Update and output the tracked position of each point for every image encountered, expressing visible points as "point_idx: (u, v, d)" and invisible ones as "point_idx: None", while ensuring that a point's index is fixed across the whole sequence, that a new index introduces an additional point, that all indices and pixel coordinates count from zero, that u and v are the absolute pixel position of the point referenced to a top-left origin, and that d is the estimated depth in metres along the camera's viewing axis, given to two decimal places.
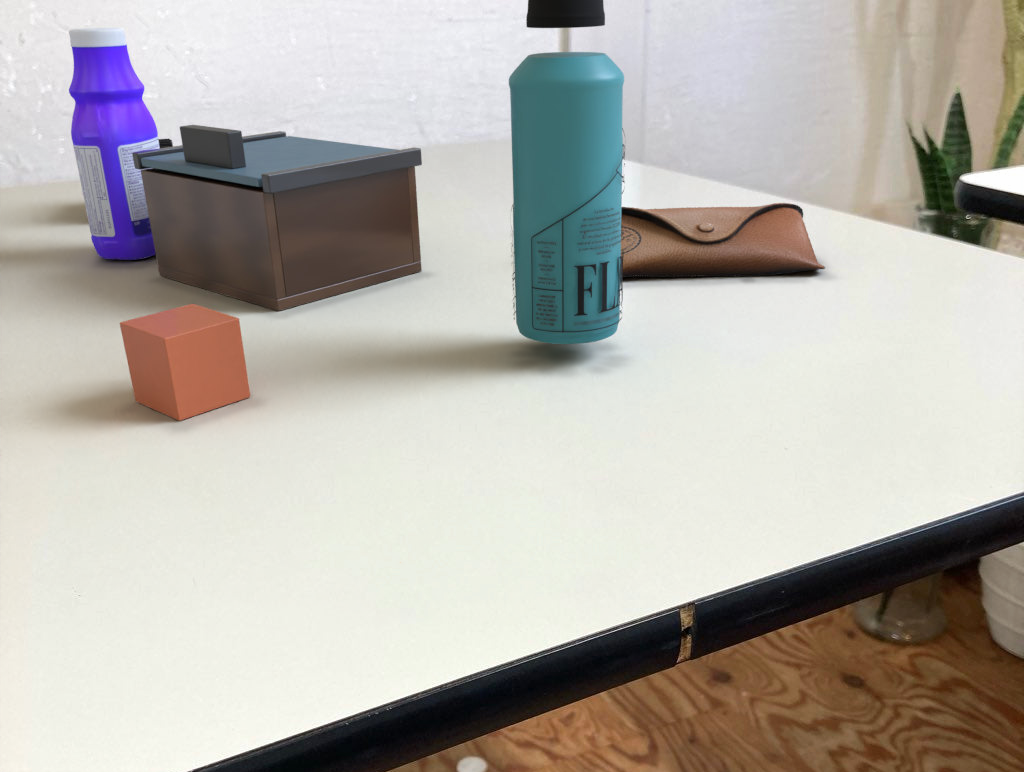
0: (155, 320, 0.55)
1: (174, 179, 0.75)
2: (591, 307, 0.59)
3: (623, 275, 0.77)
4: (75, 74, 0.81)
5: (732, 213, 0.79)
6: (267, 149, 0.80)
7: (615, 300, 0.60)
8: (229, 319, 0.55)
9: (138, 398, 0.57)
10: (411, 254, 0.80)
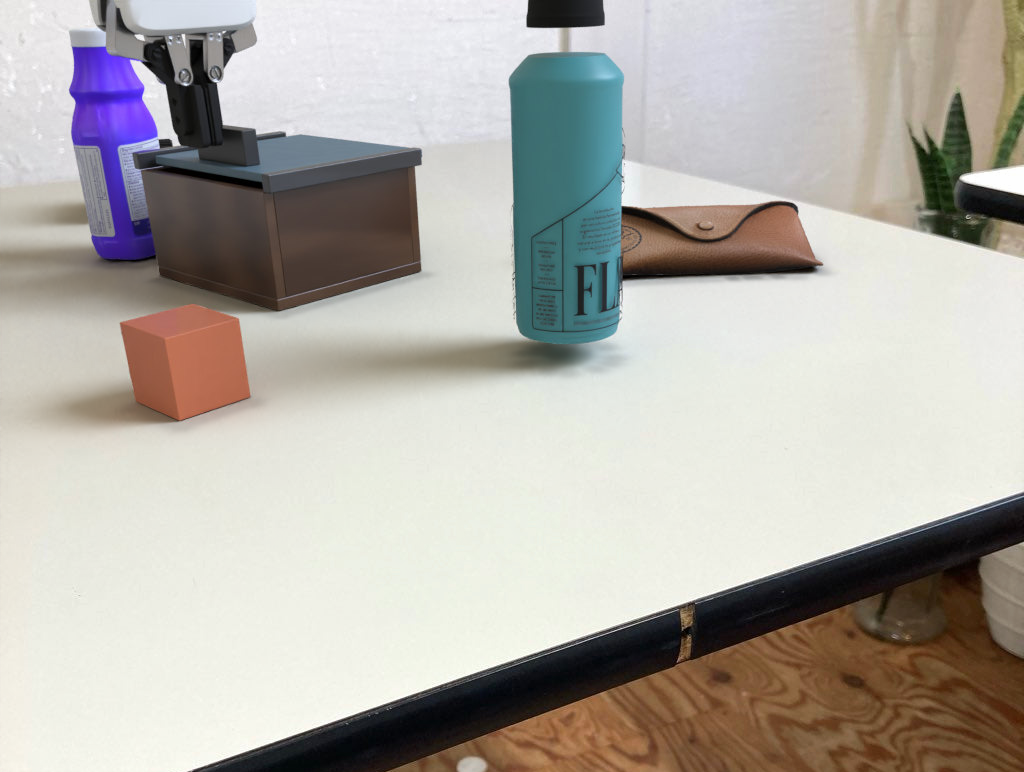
0: (155, 320, 0.55)
1: (174, 179, 0.75)
2: (591, 307, 0.59)
3: (625, 273, 0.77)
4: (75, 74, 0.81)
5: (730, 211, 0.80)
6: (280, 147, 0.80)
7: (615, 300, 0.60)
8: (229, 319, 0.55)
9: (138, 398, 0.57)
10: (411, 254, 0.80)
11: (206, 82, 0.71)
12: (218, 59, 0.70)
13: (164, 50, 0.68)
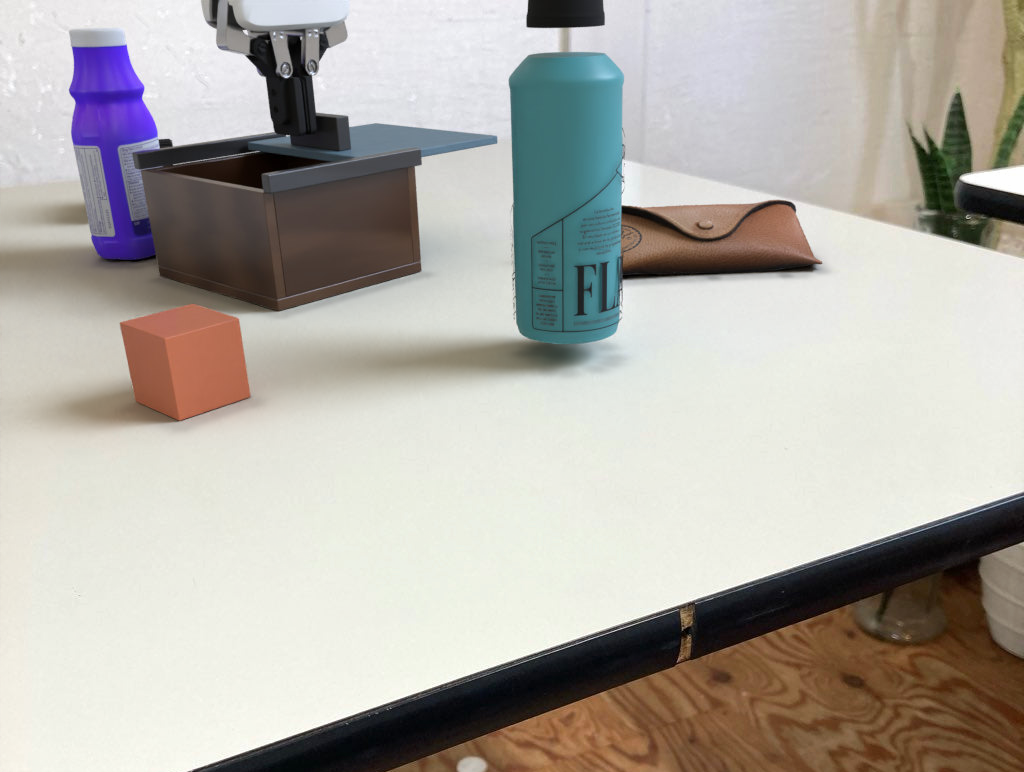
0: (155, 320, 0.55)
1: (174, 179, 0.75)
2: (591, 307, 0.59)
3: (625, 273, 0.77)
4: (75, 74, 0.81)
5: (729, 210, 0.80)
6: (362, 134, 0.86)
7: (615, 300, 0.60)
8: (229, 319, 0.55)
9: (138, 398, 0.57)
10: (411, 254, 0.80)
11: (303, 75, 0.76)
12: (314, 53, 0.76)
13: (268, 45, 0.73)
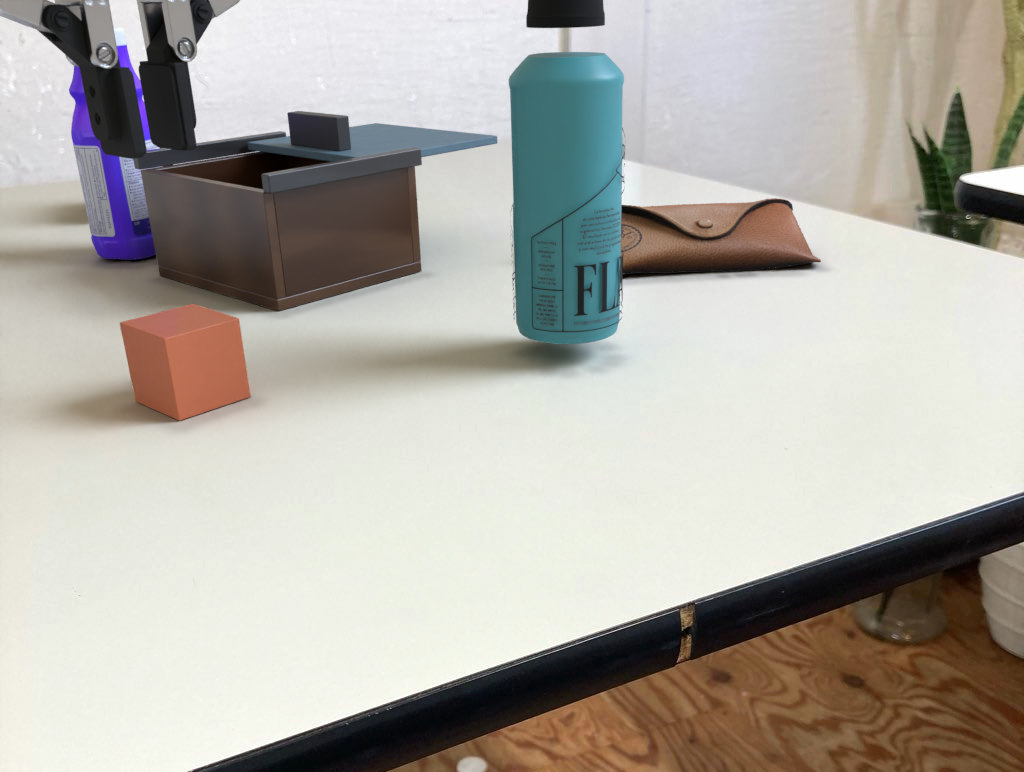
0: (155, 320, 0.55)
1: (174, 179, 0.75)
2: (591, 307, 0.59)
3: (627, 272, 0.77)
4: (75, 74, 0.81)
5: (728, 209, 0.80)
6: (362, 134, 0.86)
7: (615, 300, 0.60)
8: (229, 319, 0.55)
9: (138, 398, 0.57)
10: (411, 254, 0.80)
11: (172, 61, 0.50)
12: (186, 27, 0.50)
13: (74, 15, 0.46)
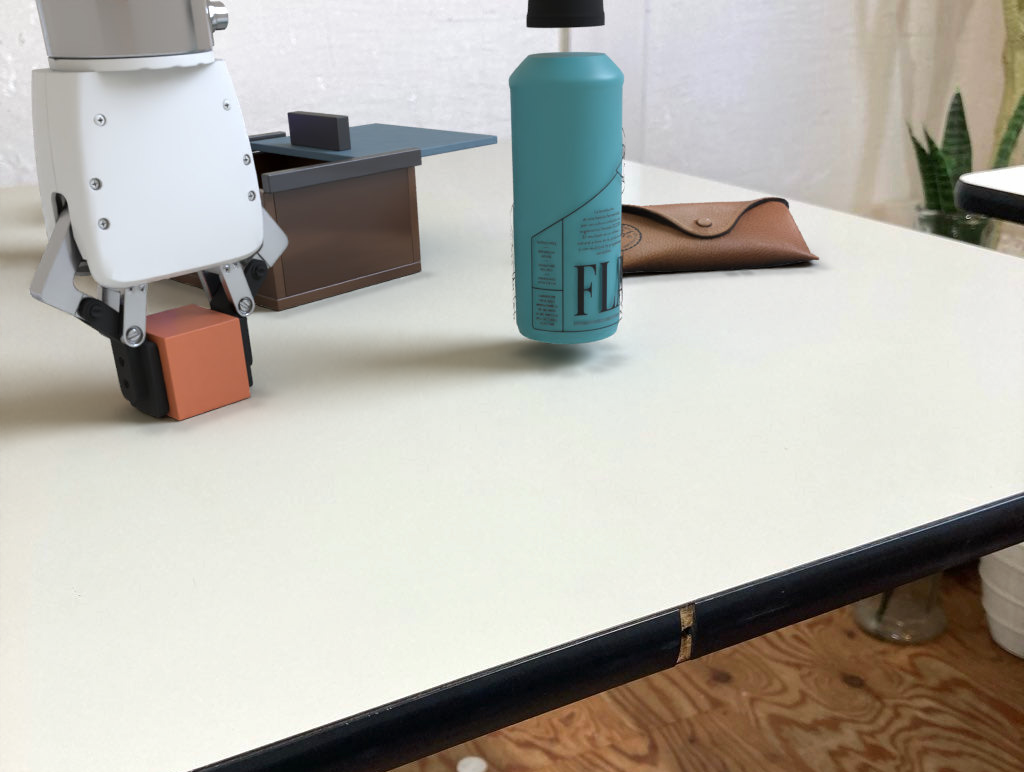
0: (155, 320, 0.55)
1: None
2: (591, 307, 0.59)
3: (628, 271, 0.78)
4: None
5: (726, 208, 0.81)
6: (362, 134, 0.86)
7: (615, 300, 0.60)
8: (229, 319, 0.55)
9: None
10: (411, 254, 0.80)
11: (233, 315, 0.57)
12: (243, 289, 0.56)
13: (106, 305, 0.51)
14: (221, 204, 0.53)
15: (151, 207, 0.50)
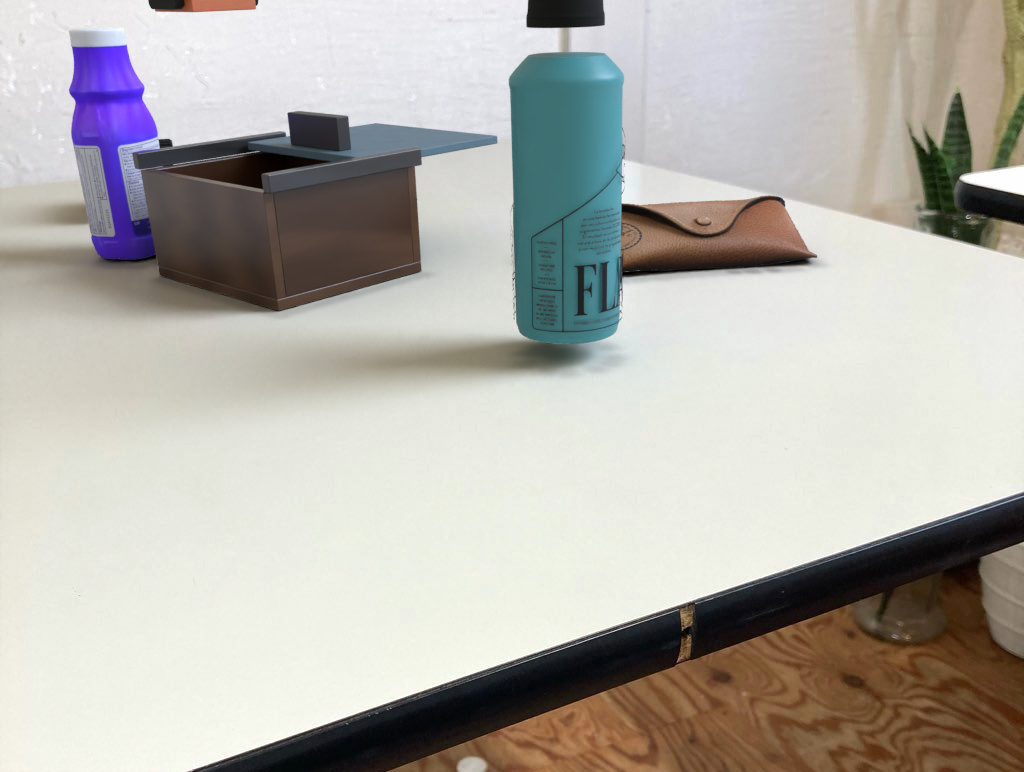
0: None
1: (174, 179, 0.75)
2: (591, 307, 0.59)
3: (629, 270, 0.78)
4: (75, 74, 0.81)
5: (724, 206, 0.81)
6: (362, 134, 0.86)
7: (615, 300, 0.60)
8: None
9: None
10: (411, 254, 0.80)
11: None
12: None
13: None
14: None
15: None
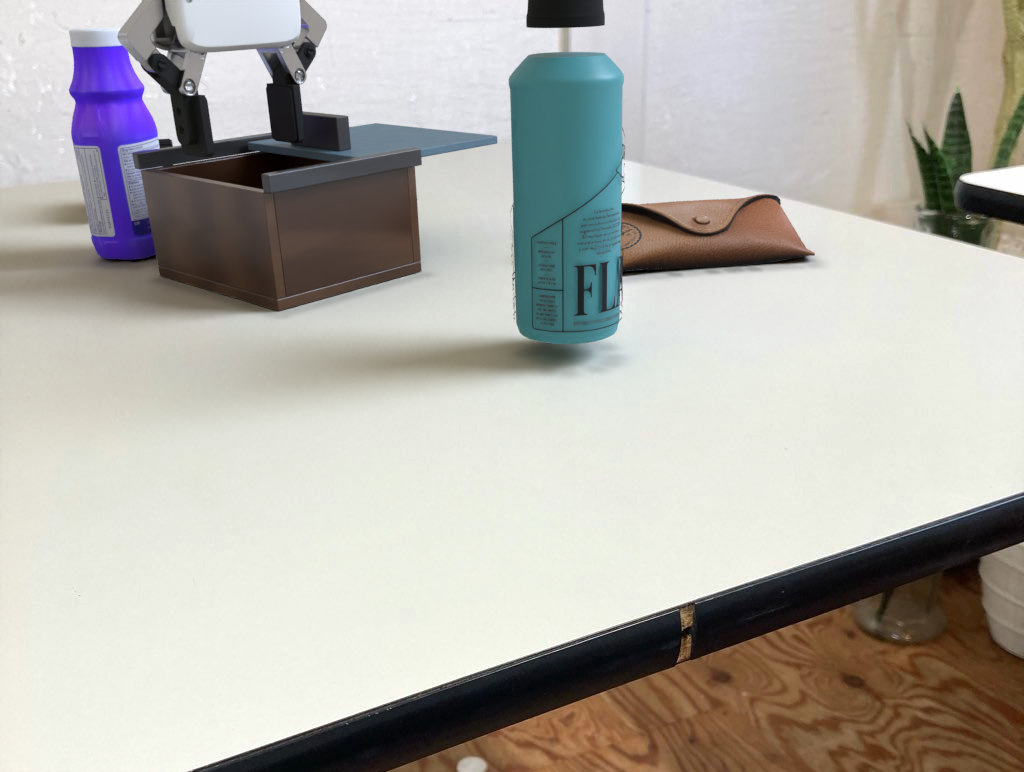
0: None
1: (174, 179, 0.75)
2: (591, 307, 0.59)
3: (630, 269, 0.78)
4: (75, 74, 0.81)
5: (722, 205, 0.82)
6: (362, 134, 0.86)
7: (615, 300, 0.60)
8: None
9: None
10: (411, 254, 0.80)
11: (290, 83, 0.75)
12: (296, 62, 0.75)
13: (169, 60, 0.68)
14: None
15: None
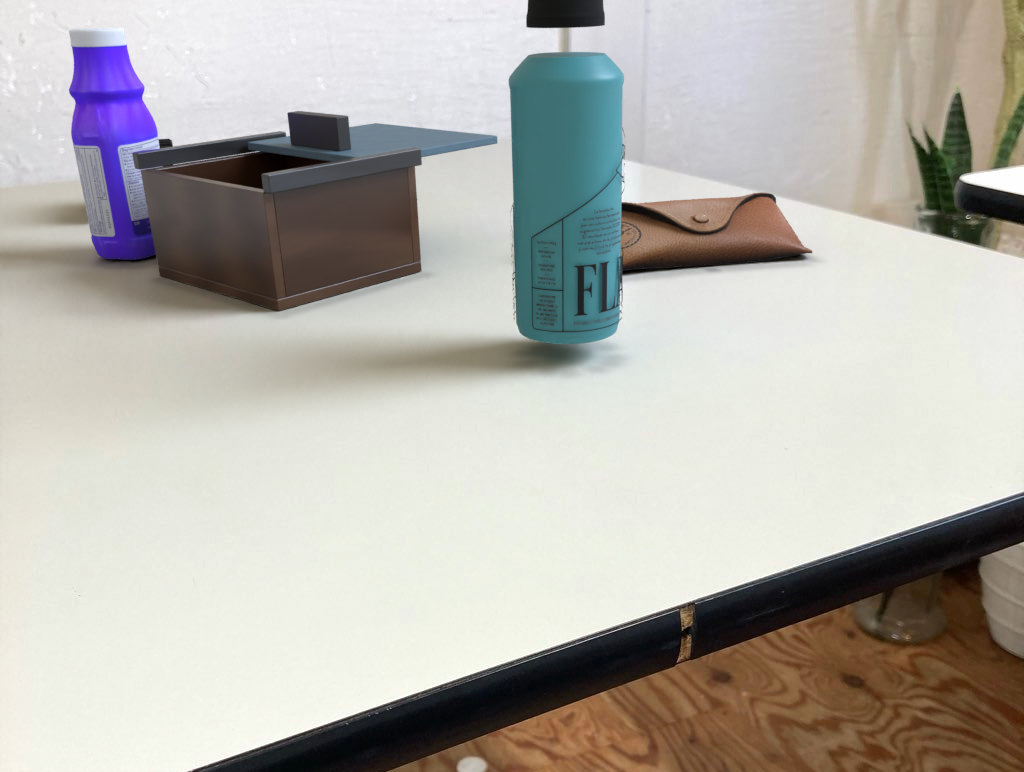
0: None
1: (174, 179, 0.75)
2: (591, 307, 0.59)
3: (630, 268, 0.78)
4: (75, 74, 0.81)
5: (720, 204, 0.82)
6: (362, 134, 0.86)
7: (615, 300, 0.60)
8: None
9: None
10: (411, 254, 0.80)
11: None
12: None
13: None
14: None
15: None
